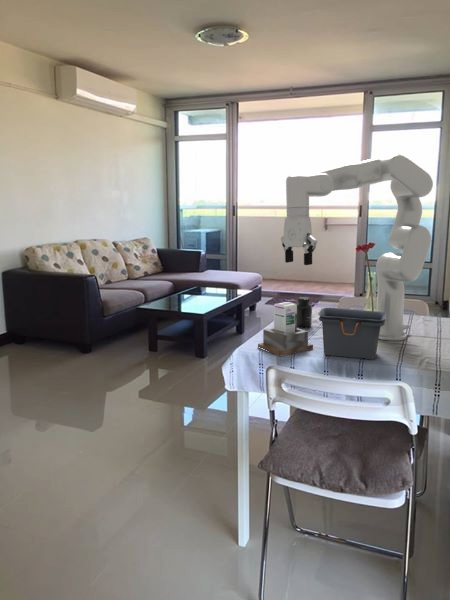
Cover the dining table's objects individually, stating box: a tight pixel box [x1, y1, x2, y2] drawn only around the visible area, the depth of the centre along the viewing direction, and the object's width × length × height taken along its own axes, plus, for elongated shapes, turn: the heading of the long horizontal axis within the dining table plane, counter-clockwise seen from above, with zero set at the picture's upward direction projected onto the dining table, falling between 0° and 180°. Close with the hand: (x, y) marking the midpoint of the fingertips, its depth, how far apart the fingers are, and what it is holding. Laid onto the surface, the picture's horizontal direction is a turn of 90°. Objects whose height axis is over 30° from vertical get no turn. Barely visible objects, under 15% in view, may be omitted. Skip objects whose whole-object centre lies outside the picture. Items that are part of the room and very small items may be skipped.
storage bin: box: [317, 307, 386, 360], centre depth 165 cm, size 21×16×14 cm
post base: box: [257, 327, 314, 357], centre depth 174 cm, size 15×12×6 cm
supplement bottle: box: [296, 296, 313, 329], centre depth 203 cm, size 7×7×12 cm
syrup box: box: [273, 301, 298, 335], centre depth 173 cm, size 6×6×14 cm
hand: (298, 263), depth 171 cm, fingers open, 9 cm apart
